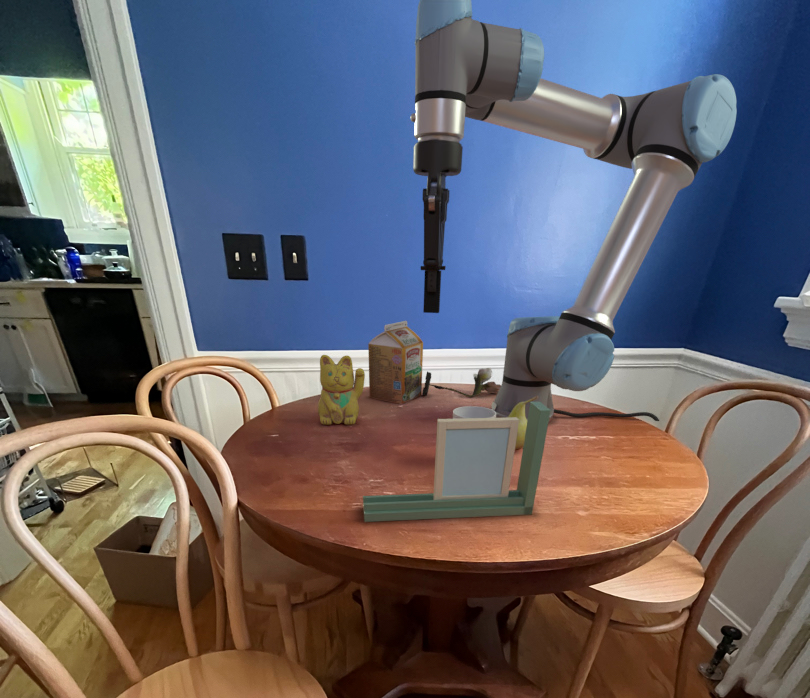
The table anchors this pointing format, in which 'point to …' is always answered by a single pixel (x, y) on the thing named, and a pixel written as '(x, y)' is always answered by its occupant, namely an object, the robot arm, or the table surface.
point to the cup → (473, 412)
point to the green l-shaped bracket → (478, 507)
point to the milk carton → (395, 364)
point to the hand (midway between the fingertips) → (431, 312)
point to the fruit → (521, 422)
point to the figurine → (339, 391)
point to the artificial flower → (479, 380)
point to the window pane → (474, 457)
